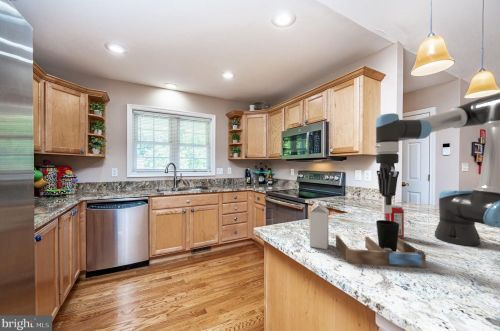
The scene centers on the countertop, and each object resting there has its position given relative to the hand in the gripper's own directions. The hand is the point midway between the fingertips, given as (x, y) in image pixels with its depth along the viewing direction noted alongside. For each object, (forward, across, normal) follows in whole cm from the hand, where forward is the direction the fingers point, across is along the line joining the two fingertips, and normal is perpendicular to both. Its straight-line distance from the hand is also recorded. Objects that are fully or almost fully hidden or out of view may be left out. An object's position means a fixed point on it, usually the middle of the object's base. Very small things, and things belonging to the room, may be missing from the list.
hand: (387, 212), depth 83 cm
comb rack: (+16, +4, -6) cm, 17 cm away
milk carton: (+16, -4, -25) cm, 30 cm away
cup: (+16, 0, 0) cm, 16 cm away
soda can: (+16, -21, +13) cm, 29 cm away
